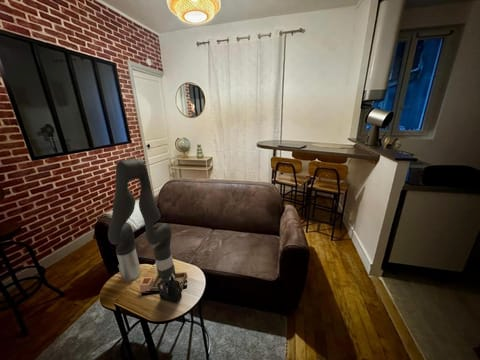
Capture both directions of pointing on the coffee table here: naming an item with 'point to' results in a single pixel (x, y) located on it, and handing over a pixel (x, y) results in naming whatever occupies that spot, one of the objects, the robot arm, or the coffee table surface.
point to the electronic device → (172, 291)
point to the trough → (178, 277)
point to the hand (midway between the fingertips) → (170, 291)
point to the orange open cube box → (146, 284)
